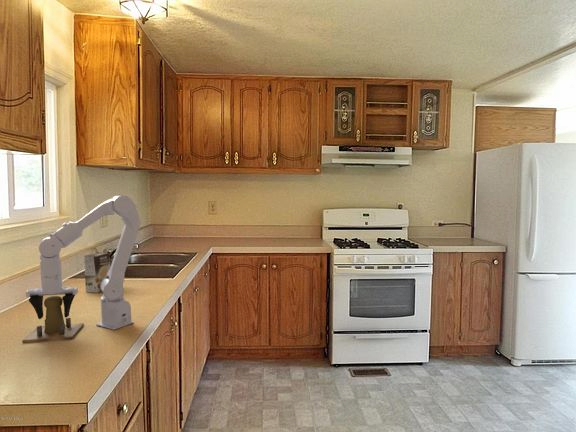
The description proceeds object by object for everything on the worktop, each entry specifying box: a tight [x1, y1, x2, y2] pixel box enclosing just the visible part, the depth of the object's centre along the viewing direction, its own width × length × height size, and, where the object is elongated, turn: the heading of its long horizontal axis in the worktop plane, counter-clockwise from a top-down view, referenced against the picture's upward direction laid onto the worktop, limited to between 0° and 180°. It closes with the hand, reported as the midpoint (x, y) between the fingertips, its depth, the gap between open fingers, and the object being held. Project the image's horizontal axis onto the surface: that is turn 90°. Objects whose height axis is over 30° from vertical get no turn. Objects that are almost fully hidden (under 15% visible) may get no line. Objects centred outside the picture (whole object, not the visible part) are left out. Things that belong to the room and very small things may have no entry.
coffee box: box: [83, 252, 111, 293], centre depth 184 cm, size 9×6×16 cm
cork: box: [43, 295, 66, 334], centre depth 133 cm, size 6×6×11 cm
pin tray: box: [22, 316, 85, 344], centre depth 132 cm, size 14×12×4 cm
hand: (53, 317), depth 132 cm, fingers open, 7 cm apart
